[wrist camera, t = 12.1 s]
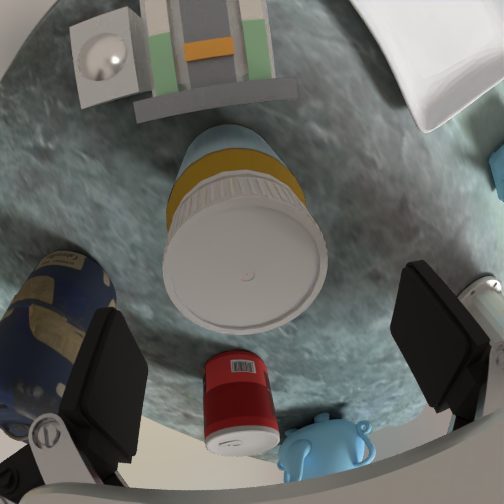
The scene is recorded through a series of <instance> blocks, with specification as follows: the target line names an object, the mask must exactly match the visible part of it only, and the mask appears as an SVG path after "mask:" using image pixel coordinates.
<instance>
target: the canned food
mask: <svg viewBox="0 0 504 504" xmlns="http://www.w3.org/2000/svg"><path fill="white" fill-rule="evenodd" d="M203 408H204V436H205V444H206V448H207V450H209V451H210V452H212V453H215V454H218V455H223V456H236V457H237V456H249V455H254V454H259V453H262V452H265V451H267V450H269V449H272V448H273V447H275V446H276V445H277V444H278V443H279V441H280V438H279V429H278V423H277V418H276V413H275V408H274V403H273V398H272V393H271V388H270V383H269V378H268V373H267V368H266V366H265V364H264V362H263V360H262V359H261V358H260V357H259V356H257V355H256V354H253V353H251V352H247V351H228V352H224V353H220V354H218V355H216V356H214V357H212V358H211V359H210V360H209V361H208V362H207V363H206V365H205V368H204V371H203Z"/></svg>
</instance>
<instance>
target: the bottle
mask: <svg viewBox="0 0 504 504" xmlns="http://www.w3.org/2000/svg"><path fill="white" fill-rule="evenodd" d="M166 218H167V230H168V237H167V241H166V245H165V249H164V253H163V260H162V266H163V268H162V273H163V280H164V284H165V287H166V290H167V293H168V295H169V297H170V299H171V300H172V302H173V303H174V305H175V306H176V307H177V309H178V310H179V311H180V312H181V313H182V314H183V315H184V316H186V317H187V318H188V319H190V320H191V321H192V322H194V323H196V324H197V325H199V326H201V327H204V328H206V329H209V330H212V331H215V332H219V333H224V334H233V335H248V334H256V333H261V332H265V331H269V330H272V329H275V328H277V327H280V326H282V325H284V324H286V323H288V322H290V321H291V320H293V319H294V318H296V317H297V316H299V315H300V314H301V313H302V312H303V311H305V310H306V309H307V308H308V307H309V306H310V305H311V303H312V302H313V301H314V300H315V298H316V297H317V295H318V294H319V292H320V290H321V288H322V286H323V284H324V281H325V278H326V274H327V268H328V254H327V248H326V242H325V240H324V239H323V238H324V236H323V234H322V232H321V231H320V228H319V226H318V225H317V223H316V222H315V221H314V219H313V218H312V216H311V215H310V213H309V212H308V210H307V209H306V202H305V197H304V194H303V191H302V189H301V187H300V186H299V184H298V182H297V180H296V178H295V177H294V175H293V174H292V172H291V171H290V170H289V169H288V168H287V166H286V165H285V164H284V163H283V162H282V160H281V159H280V158H279V157H278V156H277V154H276V153H275V152H274V151H273V150H272V149H271V147H270V146H269V145H268V144H267V143H266V142H265V140H264V139H263V138H261V137H260V136H259V135H258V134H257V133H256V132H254V131H253V130H251V129H249V128H246V127H244V126H241V125H236V124H222V125H218V126H214V127H211V128H209V129H207V130H205V131H204V132H202V133H201V134H199V135H198V136H197V137H196V138H195V139H194V141H193V142H192V143H191V144H190V146H189V147H188V149H187V151H186V154H185V156H184V159H183V161H182V164H181V167H180V169H179V172H178V175H177V177H176V180H175V183H174V186H173V188H172V191H171V194H170V197H169V200H168V205H167V210H166Z"/></svg>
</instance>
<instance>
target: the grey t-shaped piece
mask: <svg viewBox="0 0 504 504" xmlns="http://www.w3.org/2000/svg"><path fill="white" fill-rule="evenodd" d="M179 6H180V14H181V22H182V30H183V37H184V44H183V48H184V55H185V61H186V62H187V66H188V72H189V79H190V86H191V89H189V90H184V91H179V92H174V93H169V94H165V95H160V96H156V97H152V98H148V99H144V100H140V101H136V102H133V105H134V111H135V116H136V121H137V124H138V123H142V122H146V121H151V120H155V119H159V118H164V117H168V116H173V115H178V114H183V113H188V112H194V111H199V110H205V109H211V108H217V107H224V106H231V105H239V104H246V103H255V102H264V101H275V100H287V99H298V90H297V80H296V77H287V78H273V79H261V80H251V81H242V82H237V79H236V71H235V64H234V54H235V53H234V45H233V38H232V37H231V34H230V26H229V19H228V11H227V4H226V0H179Z"/></svg>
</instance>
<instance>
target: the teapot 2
mask: <svg viewBox="0 0 504 504" xmlns="http://www.w3.org/2000/svg"><path fill="white" fill-rule="evenodd" d="M488 161H489V164H490V168H491V171H492V175H493V178H494V182H495V185H496V189H497V193H498V197H499V199H500V200H502V201H503V202H504V144H503V145H502V146H501V147H500V148H499V149H498V150H497V151H496V152H492V153H491V155H490V159H489V160H488Z"/></svg>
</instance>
